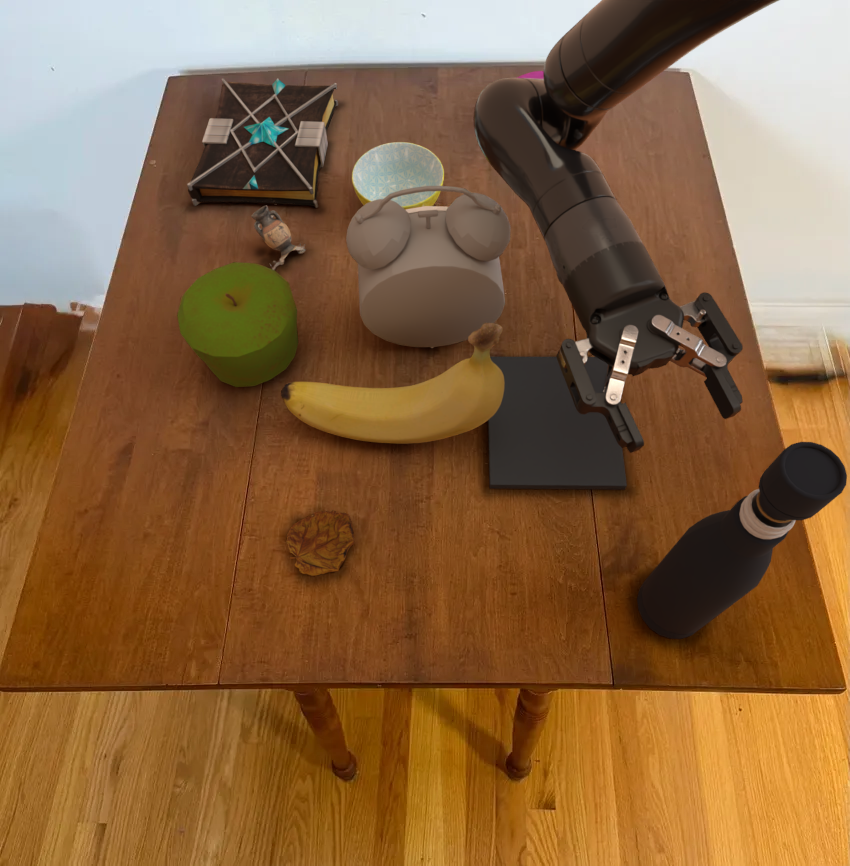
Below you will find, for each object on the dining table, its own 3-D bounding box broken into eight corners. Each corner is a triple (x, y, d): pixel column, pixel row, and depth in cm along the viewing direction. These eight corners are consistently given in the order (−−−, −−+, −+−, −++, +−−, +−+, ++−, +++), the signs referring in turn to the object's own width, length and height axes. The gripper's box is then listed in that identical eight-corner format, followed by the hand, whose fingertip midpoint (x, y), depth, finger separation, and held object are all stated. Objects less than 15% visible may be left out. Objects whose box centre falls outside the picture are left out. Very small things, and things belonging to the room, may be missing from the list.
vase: (249, 246, 91) (237, 211, 86) (286, 227, 93) (276, 191, 88) (271, 272, 89) (260, 238, 84) (308, 252, 91) (299, 217, 86)
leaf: (286, 519, 74) (281, 515, 72) (351, 505, 73) (347, 500, 72) (294, 581, 71) (289, 578, 70) (361, 566, 71) (357, 563, 69)
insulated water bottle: (692, 652, 66) (856, 540, 40) (626, 618, 68) (743, 489, 41) (714, 592, 69) (882, 450, 42) (650, 561, 70) (774, 405, 44)
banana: (286, 444, 78) (240, 334, 60) (297, 399, 80) (256, 280, 63) (495, 463, 76) (511, 355, 58) (498, 415, 79) (514, 299, 61)
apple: (272, 417, 79) (248, 359, 69) (180, 379, 82) (144, 318, 72) (326, 333, 85) (311, 268, 75) (238, 300, 87) (212, 233, 77)
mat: (609, 361, 82) (610, 356, 81) (624, 489, 74) (627, 485, 73) (486, 361, 82) (486, 356, 81) (489, 488, 75) (490, 484, 74)
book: (227, 100, 105) (217, 68, 101) (340, 103, 104) (335, 71, 100) (192, 207, 95) (180, 177, 91) (318, 211, 94) (312, 182, 90)
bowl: (393, 257, 90) (390, 221, 85) (339, 207, 94) (333, 169, 89) (461, 214, 93) (463, 176, 88) (407, 167, 98) (404, 129, 92)
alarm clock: (496, 296, 87) (511, 146, 67) (505, 355, 82) (523, 213, 63) (360, 306, 86) (336, 158, 67) (363, 366, 82) (337, 226, 63)
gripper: (533, 267, 58) (617, 448, 53) (691, 215, 59) (786, 386, 55) (521, 310, 65) (594, 473, 60) (663, 263, 67) (745, 418, 62)
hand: (686, 431), depth 58 cm, fingers open, 8 cm apart
